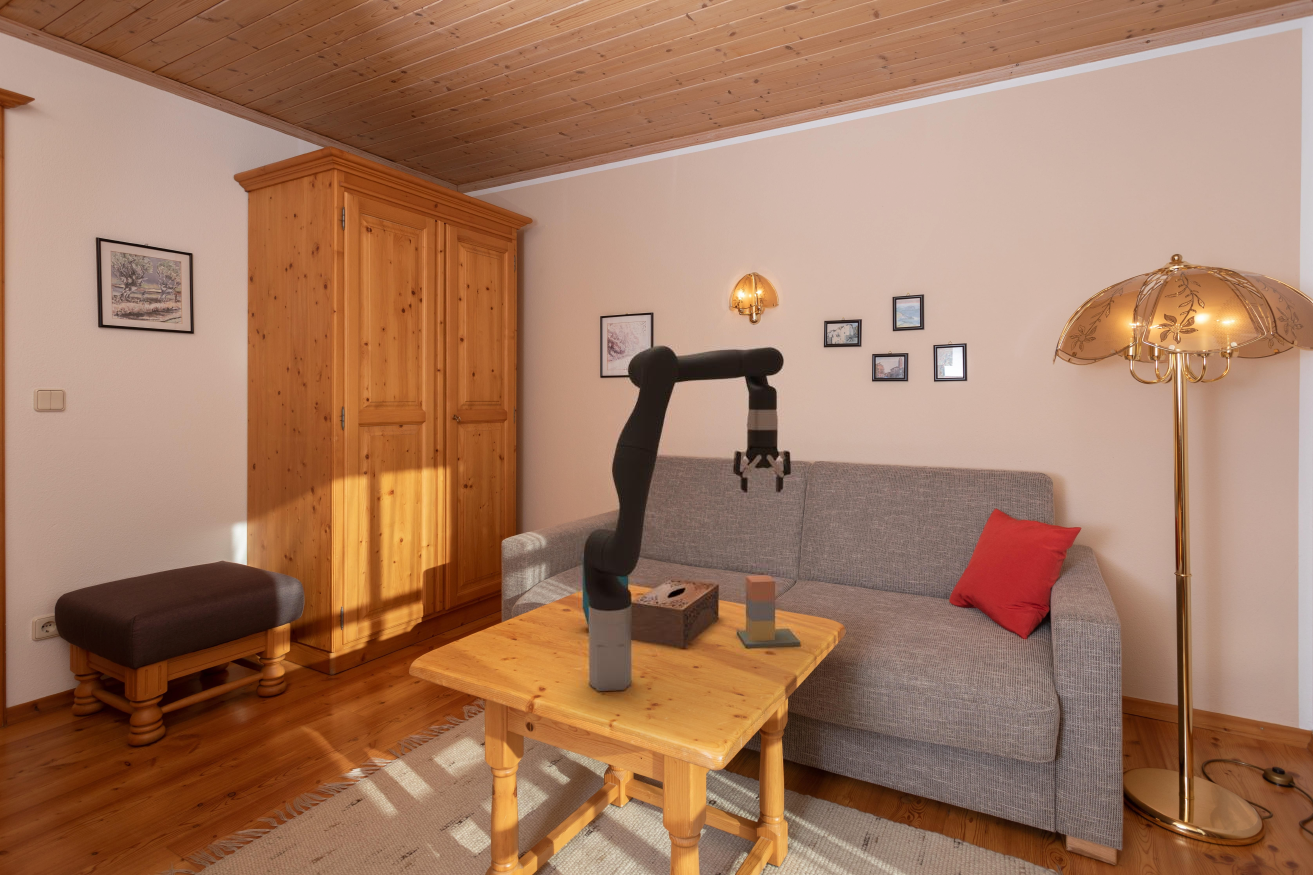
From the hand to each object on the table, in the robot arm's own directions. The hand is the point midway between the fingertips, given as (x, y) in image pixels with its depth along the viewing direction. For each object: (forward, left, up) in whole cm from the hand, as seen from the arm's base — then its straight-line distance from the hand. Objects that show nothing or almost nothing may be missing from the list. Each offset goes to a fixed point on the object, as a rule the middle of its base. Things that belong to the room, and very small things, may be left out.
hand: (761, 492), depth 172 cm
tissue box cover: (+11, +20, -39) cm, 45 cm away
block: (+12, +39, -38) cm, 56 cm away
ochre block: (0, 0, -37) cm, 37 cm away
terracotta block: (0, 0, -27) cm, 27 cm away
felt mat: (0, -2, -38) cm, 38 cm away
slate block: (0, 0, -32) cm, 32 cm away
